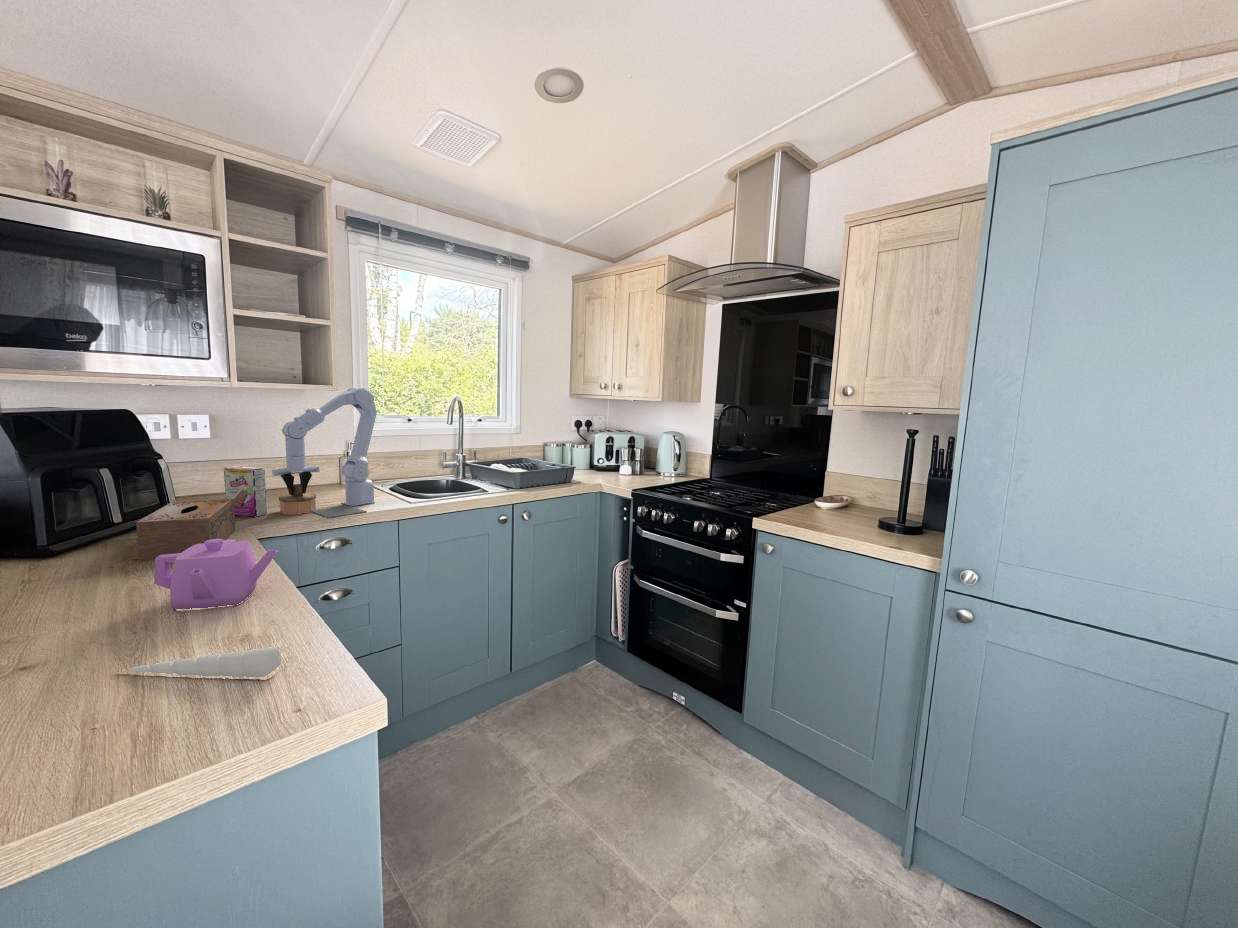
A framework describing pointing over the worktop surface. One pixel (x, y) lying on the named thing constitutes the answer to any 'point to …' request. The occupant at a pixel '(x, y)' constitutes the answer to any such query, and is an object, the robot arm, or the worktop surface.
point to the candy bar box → (246, 490)
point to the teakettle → (211, 573)
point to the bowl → (297, 507)
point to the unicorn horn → (221, 664)
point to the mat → (339, 511)
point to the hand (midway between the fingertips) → (297, 493)
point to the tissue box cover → (184, 526)
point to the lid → (297, 495)
